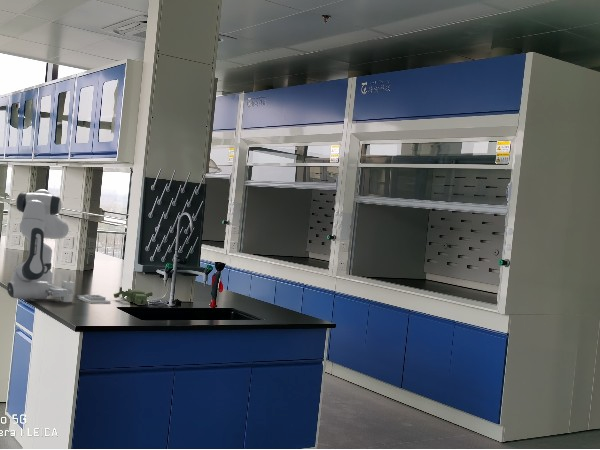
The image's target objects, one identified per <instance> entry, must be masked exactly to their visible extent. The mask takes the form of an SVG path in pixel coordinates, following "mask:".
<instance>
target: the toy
mask: <svg viewBox="0 0 600 450" xmlns="http://www.w3.org/2000/svg"><path fill="white" fill-rule="evenodd" d="M122 287H123V286H119V292H115V293H113V298H115V299H117V298H120V295H121V297H122V298H124V297H125V296H127V297H126V299H125V300H126V301H127V302H128V301H129V302H128V303H130V302H134V303H136V304H146V305H147V303H148V298H147V297H149V296H152V297H153V295H154V294H153V291H150V292H147V293H145V291H143V290H142V291H140V290H131V288H127V289H128V291H127V290H125V291H122ZM122 298H121V299H122ZM134 303H133V304H134Z"/></svg>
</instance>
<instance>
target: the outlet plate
mask: <svg viewBox="0 0 600 450" xmlns="http://www.w3.org/2000/svg"><path fill="white" fill-rule="evenodd" d="M83 295H84V297H78V300H81V301H83V302H85V303H88V304H90V303H110V304H111V300H109V299H108V300H107V298H106V296H102V295H99V294H83Z"/></svg>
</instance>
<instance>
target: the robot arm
mask: <svg viewBox="0 0 600 450" xmlns="http://www.w3.org/2000/svg"><path fill="white" fill-rule="evenodd" d="M15 205H16V206H15V207H16V209H17V210H18V211H19V212H21V213H22V217H21V221H20V223H19V231H20V232H21V234H22V236H24V237H25V238H26V239H27V241H28V242H29V246H28V247H29V248H28V255H27V256H28V257H27V259H26V260H25V261H23V262H21V263H19V264H17V265H16V266H15V267H14V269H13V273H12V277H11V279H10V280H9V281H8V283H7V287H6V291H7V293H8V295H9V296H10V298H13V299H17V300H19V299H20V300H28V299H34V300H46V299H47V298H48V297H50V296H51V297H57V298H60V297H67V296H68V294H73V295H74V290H67V289H64V288H61V286H58V285H55V284H53V272H52V271H51V270H52V257H53V249H52V248H51V247H50V245H48V244H46V243H45V242H44V239H52V240H53V239H54V240H59V239H60V240H61V239H65V238H66V237H67V235H68V234H69V225H68V223H67V222H66V221H64V220H63V219H61V218H60V217H58V216H57V215H58V214H59V213H60V211H61V209H62V201H61V198H60V196H58V195H55V194H51V193H50V191H48V190H46V189H44V188H42V189H38V190H37V189H36V191H35V192H28V191H26V192H25V191H23V192H20V193H19V194H17V197H16V199H15Z"/></svg>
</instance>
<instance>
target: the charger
mask: <svg viewBox="0 0 600 450" xmlns="http://www.w3.org/2000/svg"><path fill="white" fill-rule="evenodd" d="M60 287H61V288H64V289H67V290H73V291H74V288H75V282H74V281H70V280H62V281H61V285H60ZM73 297H74V293H73V294H68V296H67V297H59V301H60V302H62V303H72V302H73Z"/></svg>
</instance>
